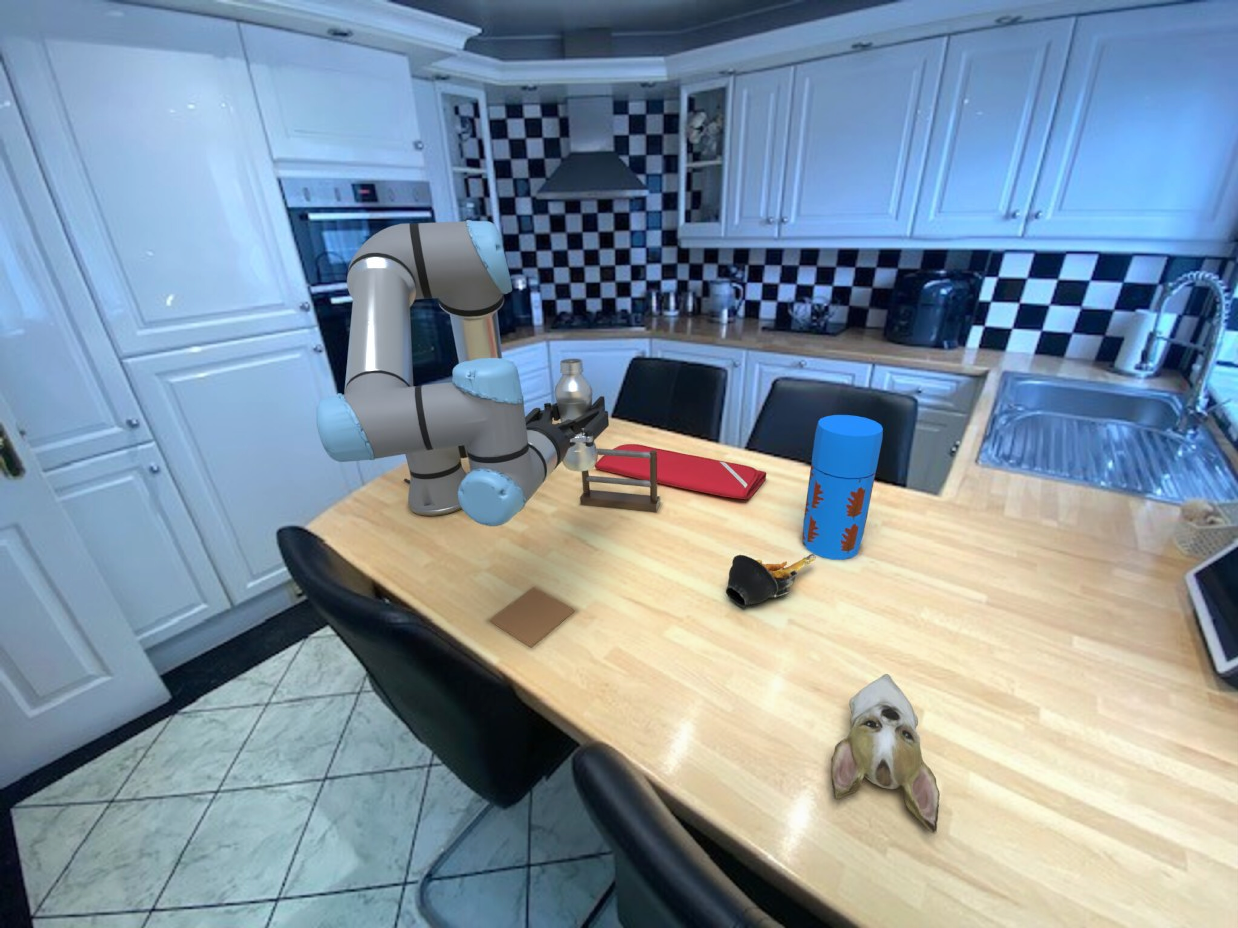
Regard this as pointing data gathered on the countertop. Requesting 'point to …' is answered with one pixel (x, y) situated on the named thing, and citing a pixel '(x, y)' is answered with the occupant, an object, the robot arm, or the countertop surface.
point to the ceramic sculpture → (885, 750)
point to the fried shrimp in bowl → (760, 579)
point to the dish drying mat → (687, 472)
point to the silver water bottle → (575, 411)
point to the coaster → (532, 616)
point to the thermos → (840, 485)
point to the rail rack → (623, 499)
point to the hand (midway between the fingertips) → (585, 402)
